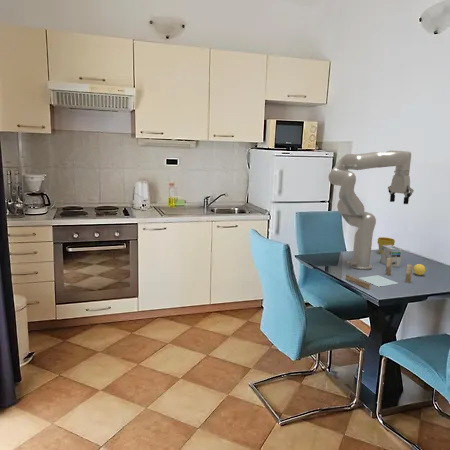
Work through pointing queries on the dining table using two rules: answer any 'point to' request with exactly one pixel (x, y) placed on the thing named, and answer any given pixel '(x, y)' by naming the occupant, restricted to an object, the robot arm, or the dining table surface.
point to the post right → (408, 273)
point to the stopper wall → (358, 281)
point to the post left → (388, 266)
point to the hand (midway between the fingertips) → (398, 202)
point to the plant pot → (385, 242)
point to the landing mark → (378, 280)
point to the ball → (419, 269)
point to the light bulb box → (391, 255)
